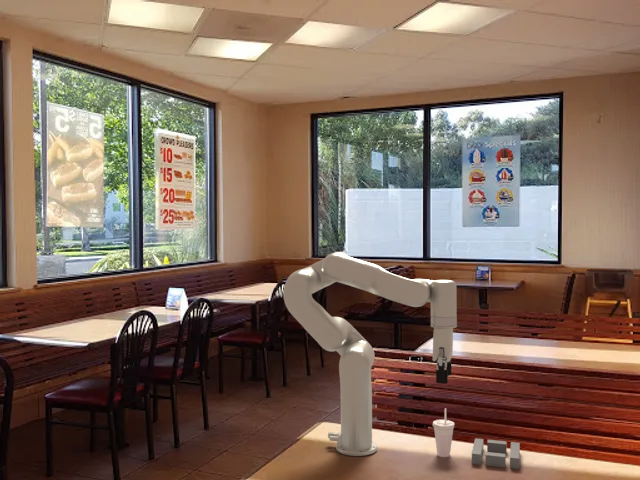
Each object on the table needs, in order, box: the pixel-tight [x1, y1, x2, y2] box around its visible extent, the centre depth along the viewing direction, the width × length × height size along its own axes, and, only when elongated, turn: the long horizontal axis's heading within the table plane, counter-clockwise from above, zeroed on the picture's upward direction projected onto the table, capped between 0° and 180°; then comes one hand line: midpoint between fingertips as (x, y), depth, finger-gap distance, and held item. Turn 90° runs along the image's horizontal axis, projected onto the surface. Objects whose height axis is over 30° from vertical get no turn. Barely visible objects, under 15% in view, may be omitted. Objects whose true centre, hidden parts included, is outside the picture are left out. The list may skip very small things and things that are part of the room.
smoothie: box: [432, 408, 455, 458], centre depth 184 cm, size 6×6×14 cm
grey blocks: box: [471, 437, 521, 470], centre depth 182 cm, size 13×13×3 cm
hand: (444, 379), depth 184 cm, fingers open, 9 cm apart
